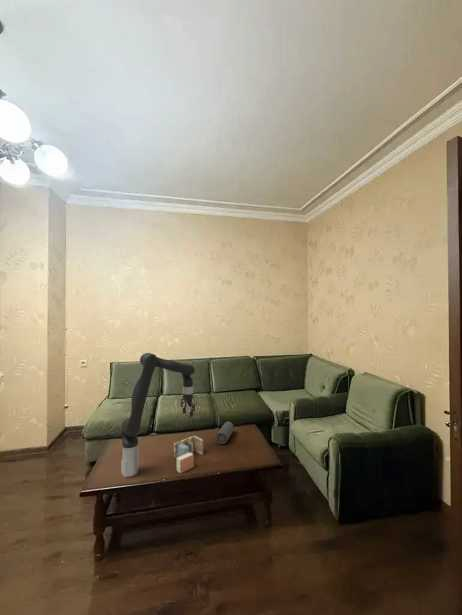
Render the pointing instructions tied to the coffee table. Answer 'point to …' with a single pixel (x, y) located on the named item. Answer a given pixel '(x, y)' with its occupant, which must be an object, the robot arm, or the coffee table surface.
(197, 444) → the shelf
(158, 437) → the coffee table surface
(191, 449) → the bookend
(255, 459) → the coffee table surface
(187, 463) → the boxed book
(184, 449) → the shelved book
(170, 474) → the coffee table surface
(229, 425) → the bluetooth speaker
